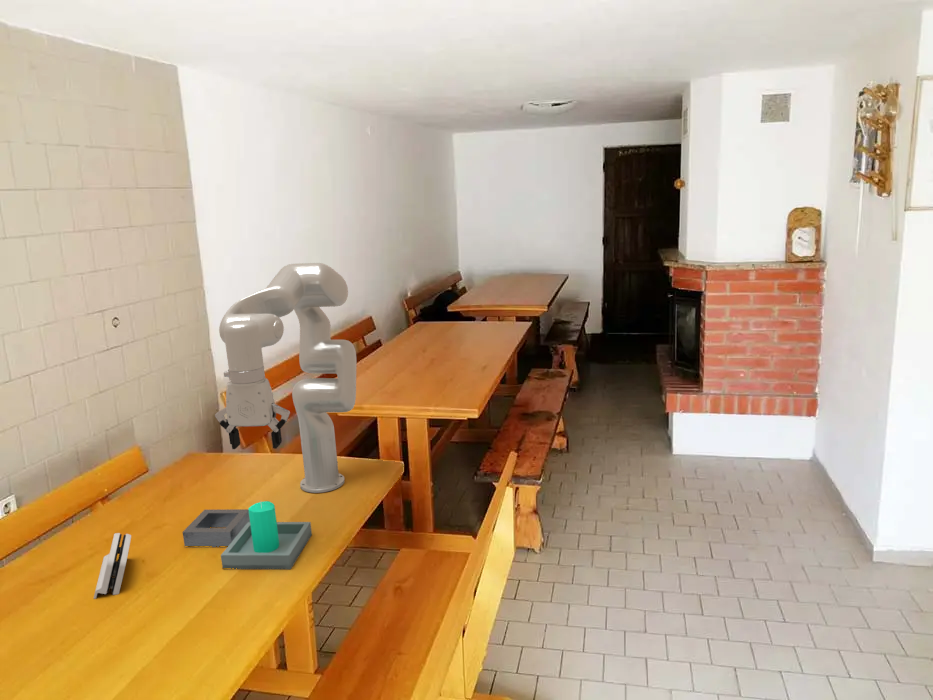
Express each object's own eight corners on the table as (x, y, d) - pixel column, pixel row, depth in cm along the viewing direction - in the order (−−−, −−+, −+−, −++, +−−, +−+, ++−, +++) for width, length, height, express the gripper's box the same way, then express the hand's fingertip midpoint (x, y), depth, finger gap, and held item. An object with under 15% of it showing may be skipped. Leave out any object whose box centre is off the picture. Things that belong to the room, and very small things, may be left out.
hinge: (102, 562, 168) (111, 523, 167) (124, 564, 170) (133, 525, 169) (93, 599, 153) (103, 556, 152) (117, 601, 155) (127, 559, 154)
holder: (206, 523, 186) (204, 509, 185) (251, 523, 184) (249, 509, 183) (184, 547, 174) (182, 532, 173) (232, 547, 173) (230, 532, 172)
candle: (260, 556, 166) (253, 508, 163) (249, 547, 170) (243, 500, 167) (283, 546, 169) (278, 500, 167) (272, 538, 174) (267, 492, 171)
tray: (249, 534, 178) (247, 522, 178) (311, 534, 177) (310, 521, 176) (222, 569, 163) (220, 555, 162) (290, 569, 161) (289, 555, 161)
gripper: (203, 381, 157) (213, 453, 161) (278, 379, 156) (287, 452, 160) (217, 371, 165) (227, 441, 169) (290, 369, 163) (298, 440, 167)
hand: (256, 446), depth 164 cm, fingers open, 9 cm apart
